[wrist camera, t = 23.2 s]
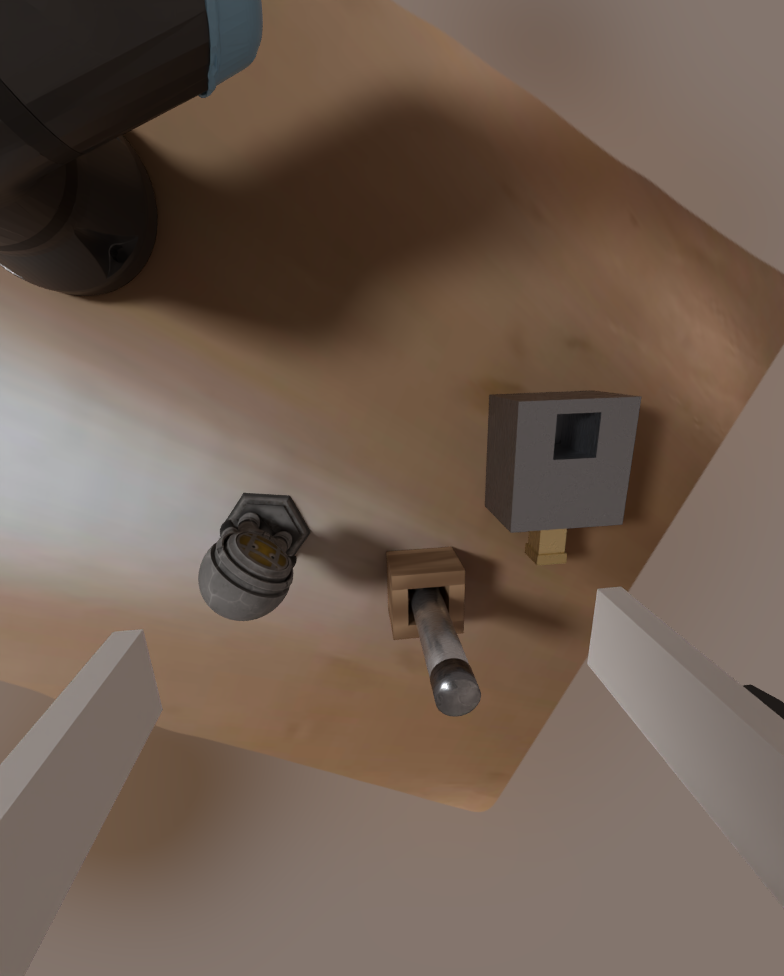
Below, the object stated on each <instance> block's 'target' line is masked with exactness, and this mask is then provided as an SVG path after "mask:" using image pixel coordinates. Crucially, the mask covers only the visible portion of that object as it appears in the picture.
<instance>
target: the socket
mask: <svg viewBox="0 0 784 976" xmlns="http://www.w3.org/2000/svg"><path fill="white" fill-rule="evenodd" d="M640 403H641V396H633V395H624V394H616V393H608V392H600V391H571V392H546V393H520V394H495V395H489V418H488V442H487V467H486V491H485V507H486V508H487V509H488V510H489V511H490V512H491V513H492V514H493V515H494V516H495V517H496V518H497V519H498V520H499V521H500V522H501V523H502V524H503V525H504V526H505V527H506V528H507V529H508V530H509V531H510V532H511V533H512V532H526V531H539V530H553V529H567V528H580V527H594V526H608V525H621V524H622V523H623V517H624V510H625V503H626V496H627V490H628V483H629V476H630V470H631V463H632V456H633V449H634V443H635V436H636V429H637V423H638V416H639V409H640Z"/></svg>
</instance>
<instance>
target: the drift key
mask: <svg viewBox="0 0 784 976" xmlns="http://www.w3.org/2000/svg"><path fill="white" fill-rule="evenodd" d="M566 533H567V529H553V530H539V531H529V537H528V543H526V545H525V553H526V554H527V555H528V557H529V558H530V559H531V560H532V561H533V562H534V563H535V564H536V565H548V564H560V563H566V558H567V553H566V552H565V543H566Z"/></svg>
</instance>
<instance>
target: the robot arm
mask: <svg viewBox="0 0 784 976" xmlns="http://www.w3.org/2000/svg"><path fill="white" fill-rule="evenodd" d="M262 27H263V21H262V4H261V0H0V265H1V266H2V267H3V268H5V269H6V270H7V271H9V272H11V273H12V274H14V275H16V276H17V277H19V278H21V279H23V280H25V281H27V282H29V283H32V284H34V285H37V286H39V287H42V288H45V289H49V290H53V291H57V292H62V293H66V294H71V295H79V296H91V295H99V294H104V293H108V292H111V291H113V290H116V289H118V288H120V287H122V286H124V285H125V284H127V283H128V282H129V281H131V280H132V279H133V278H134V277H135V276H136V275H137V274H138V273H139V272H140V271H141V269H142V268H143V267H144V265H145V264H146V262H147V260H148V258H149V256H150V254H151V252H152V249H153V246H154V243H155V238H156V232H157V207H156V200H155V196H154V192H153V188H152V185H151V182H150V179H149V177H148V174H147V172H146V170H145V168H144V166H143V164H142V162H141V160H140V158H139V157H138V155H137V154H136V152H135V150H134V149H133V148H132V146H131V145H130V144H129V142H128V141H127V140H126V139H125V137H124V136H123V134H125V133H127V132H129V131H131V130H133V129H134V128H136V127H138V126H140V125H142V124H144V123H146V122H148V121H150V120H152V119H154V118H156V117H157V116H159V115H161V114H163V113H165V112H167V111H169V110H171V109H173V108H175V107H177V106H178V105H180V104H182V103H184V102H186V101H188V100H190V99H192V98H194V97H196V96H199V97H201V98H206V97H208V96H210V95H211V93H212V92H213V91H214V90H215V88H216V86H217V85H219V84H220V83H222V82H224V81H225V80H227V79H229V78H230V77H232V76H233V75H235V74H237V73H238V72H240V71H242V70H243V69H245V68H246V67H248V66H249V65H250V64H251V63H252V62H253V60H254V59H255V57H256V54H257V50H258V47H259V46H260V42H261V38H262ZM587 664H588V665H589V667H590V668H591V669H592V670H593V672H594V673H595V674H596V675H597V677H598V678H599V679H600V680H601V682H602V683H603V684H604V685H605V687H606V688H607V689H608V690H609V691H610V693H611V694H612V695H613V697H614V698H615V699H616V700H617V702H618V703H619V704H620V705H621V707H622V708H623V709H624V710H625V711H626V713H627V714H628V715H629V717H630V718H631V719H632V720H633V722H634V723H635V724H636V725H637V727H638V728H639V729H640V730H641V731H642V733H643V734H644V735H645V737H646V738H647V739H648V740H649V742H650V743H651V744H652V745H653V747H654V748H655V749H656V750H657V751H658V753H659V754H660V755H661V756H662V758H663V759H664V760H665V761H666V763H667V764H668V765H669V766H670V768H671V769H672V770H673V771H674V773H675V774H676V775H677V776H678V778H679V779H680V780H681V781H682V783H683V784H684V785H685V786H686V788H687V789H688V790H689V791H690V793H691V794H692V795H693V796H694V798H695V799H696V800H697V801H698V802H699V804H700V805H701V806H702V808H703V809H704V810H705V811H706V813H707V814H708V815H709V816H710V818H711V819H712V820H713V821H714V823H715V824H716V825H717V826H718V828H719V829H720V830H721V831H722V832H723V833H724V835H725V836H726V838H727V839H728V840H729V841H730V843H731V844H732V845H733V846H734V848H735V849H736V850H737V851H738V852H739V854H740V855H741V856H742V858H743V859H744V860H745V861H746V862H747V864H748V865H749V866H750V867H751V869H752V870H753V871H754V872H755V874H756V875H757V876H758V877H759V879H760V880H761V881H762V882H763V884H764V885H765V886H766V887H767V889H768V890H769V891H770V892H771V894H772V895H773V896H774V897H775V899H776V900H777V901H778V902H779V904H780V905H781V906H782V907H783V909H784V703H783V702H782V701H780V700H779V699H776V698H775V697H773V696H771V695H769V694H767V693H765V692H764V691H762V690H760V689H758V688H756V687H754V686H753V685H744V686H742V685H741V684H740V683H738V682H737V681H736V680H735V679H734V678H732V677H731V676H730V675H729V674H727V673H726V672H725V671H724V670H722V669H721V668H720V667H719V666H717V665H716V664H715V663H714V662H712V661H711V660H710V659H709V658H708V657H707V656H705V655H704V654H703V653H701V652H700V651H699V650H698V649H697V648H696V647H694V646H693V645H692V644H691V643H689V642H688V641H687V640H686V639H685V638H683V637H682V636H681V635H680V634H678V633H677V632H676V631H675V630H674V629H672V628H671V627H670V626H669V625H667V624H666V623H665V622H664V621H662V620H661V619H660V618H659V617H657V616H656V615H655V614H654V613H653V612H651V611H650V610H649V609H648V608H647V607H645V606H644V605H643V604H641V603H640V602H639V601H638V600H637V599H636V598H634V597H633V596H632V595H631V594H629V593H628V592H627V591H626V590H625V589H623V588H622V587H613V588H602V589H597V596H596V604H595V611H594V618H593V626H592V633H591V640H590V648H589V655H588V662H587ZM162 710H163V709H162V705H161V701H160V696H159V692H158V688H157V684H156V680H155V676H154V672H153V668H152V664H151V660H150V656H149V652H148V648H147V643H146V639H145V635H144V631H143V629H140V630H129V631H117V632H113V633H112V634H111V635H110V636H109V638H108V639H107V640H106V641H105V642H104V643H103V645H102V646H101V647H100V648H99V649H98V650H97V652H96V653H95V654H94V655H93V656H92V658H91V659H90V660H89V661H88V662H87V663H86V665H85V666H84V667H83V668H82V669H81V670H80V672H79V673H78V674H77V675H76V676H75V678H74V679H73V680H72V681H71V682H70V683H69V685H68V686H67V687H66V688H65V689H64V690H63V692H62V693H61V694H60V695H59V696H58V698H57V699H56V700H55V701H54V702H53V703H52V705H51V706H50V707H49V708H48V709H47V711H46V712H45V713H44V714H43V715H42V717H41V718H40V719H39V720H38V721H37V722H36V723H35V725H34V726H33V727H32V728H31V729H30V730H29V732H28V733H27V734H26V735H25V736H24V738H23V739H22V740H21V741H20V742H19V743H18V745H17V746H16V747H15V748H14V749H13V751H12V752H11V753H10V754H9V755H8V757H7V758H6V759H5V760H4V761H3V762H2V763H1V765H0V976H24V975H25V973H26V972H27V970H28V968H29V966H30V964H31V962H32V960H33V958H34V956H35V954H36V952H37V950H38V948H39V947H40V945H41V943H42V941H43V939H44V937H45V935H46V933H47V931H48V929H49V927H50V925H51V923H52V921H53V920H54V918H55V916H56V914H57V912H58V910H59V908H60V906H61V904H62V902H63V900H64V898H65V896H66V894H67V893H68V891H69V889H70V886H71V885H72V883H73V881H74V879H75V877H76V875H77V873H78V871H79V870H80V868H81V866H82V864H83V862H84V860H85V858H86V856H87V854H88V852H89V850H90V848H91V846H92V844H93V843H94V841H95V839H96V837H97V835H98V833H99V831H100V829H101V827H102V825H103V823H104V821H105V819H106V817H107V815H108V814H109V812H110V810H111V808H112V806H113V804H114V802H115V800H116V798H117V796H118V794H119V792H120V791H121V788H122V787H123V785H124V783H125V781H126V779H127V777H128V775H129V773H130V771H131V769H132V767H133V766H134V764H135V762H136V760H137V758H138V756H139V754H140V752H141V750H142V748H143V746H144V744H145V742H146V740H147V738H148V736H149V734H150V733H151V731H152V729H153V727H154V725H155V723H156V721H157V719H158V717H159V716H160V714H161V712H162Z"/></svg>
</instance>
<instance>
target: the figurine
mask: <svg viewBox="0 0 784 976" xmlns="http://www.w3.org/2000/svg"><path fill="white" fill-rule="evenodd" d="M309 534H310V530H309V529H308V527H307V525H306V523H305V522H304V520H303V518H302V516H301V515H300V513H299V511H298V509H297V508H296V506H295V504H294V502H293V501H292V499H291V497H290V496H286V495H269V494H253V493H243V495H242V497H241V498H240V500H239V501H238V503H237V504H236V506H235V507H234V509H233V510H232V512H231V513H230V515H229V516H228V518H227V520H226V521H225V522H224V523H223V524H222V526H221V529H220V536H221V538H220V539H219V540H218V541H217V543H215V544H214V545H213V546H212V547H211V548H210V549H209V550H208V551H207V553H206V555H205V556H204V558H203V560H202V563H201V565H200V569H199V577H198V581H199V588H200V592H201V595H202V597H203V599H204V600H205V602H206V603H207V605H208V606H209V607H210V608H211V609H212V610H213V611H214V612H216V613H217V614H219V615H221V616H223V617H225V618H228V619H231V620H237V621H248V620H254V619H257V618H260V617H262V616H265V615H266V614H268V613H270V612H271V611H273V610H274V609H275V608H276V607H277V606H278V605H279V604H280V603H281V602H282V601H283V599H284V598H285V596H286V595H287V593H288V590H289V587H290V585H291V583H292V580H293V567H294V566H295V564H296V556H294V555H295V554H296V552H297V551H298V549H299V548H300V546H301V545H302V544H303V542H304V541H305V539H306V538H307V536H308V535H309Z"/></svg>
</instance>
